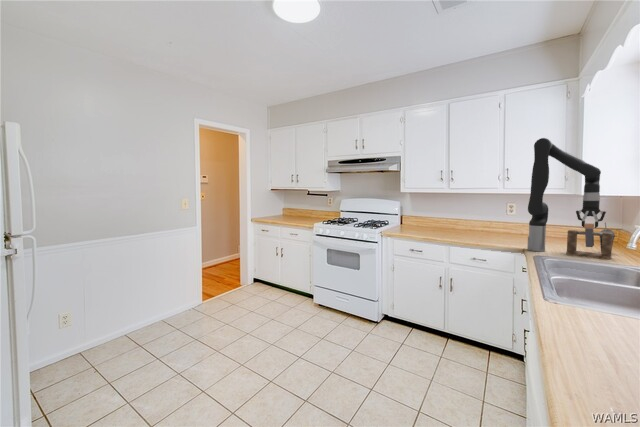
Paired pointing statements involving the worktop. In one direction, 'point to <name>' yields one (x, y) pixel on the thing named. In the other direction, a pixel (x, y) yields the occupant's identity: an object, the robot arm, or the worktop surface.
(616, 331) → the worktop surface
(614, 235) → the beverage cup
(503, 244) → the worktop surface
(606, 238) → the hook stand
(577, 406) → the worktop surface
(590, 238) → the peach and grey blocks
